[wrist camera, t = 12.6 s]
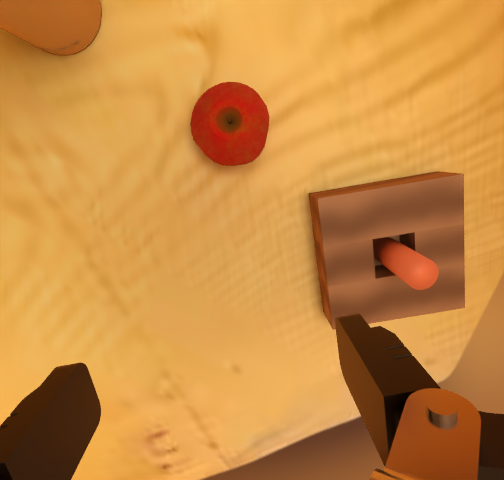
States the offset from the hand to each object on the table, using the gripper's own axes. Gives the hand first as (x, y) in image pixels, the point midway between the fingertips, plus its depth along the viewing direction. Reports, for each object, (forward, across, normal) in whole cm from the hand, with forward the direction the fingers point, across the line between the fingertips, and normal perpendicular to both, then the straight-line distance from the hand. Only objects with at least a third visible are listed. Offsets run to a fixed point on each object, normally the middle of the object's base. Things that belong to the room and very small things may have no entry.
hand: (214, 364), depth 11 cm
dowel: (+31, -18, +9) cm, 37 cm away
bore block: (+32, -18, +9) cm, 37 cm away
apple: (+33, -2, -9) cm, 34 cm away
